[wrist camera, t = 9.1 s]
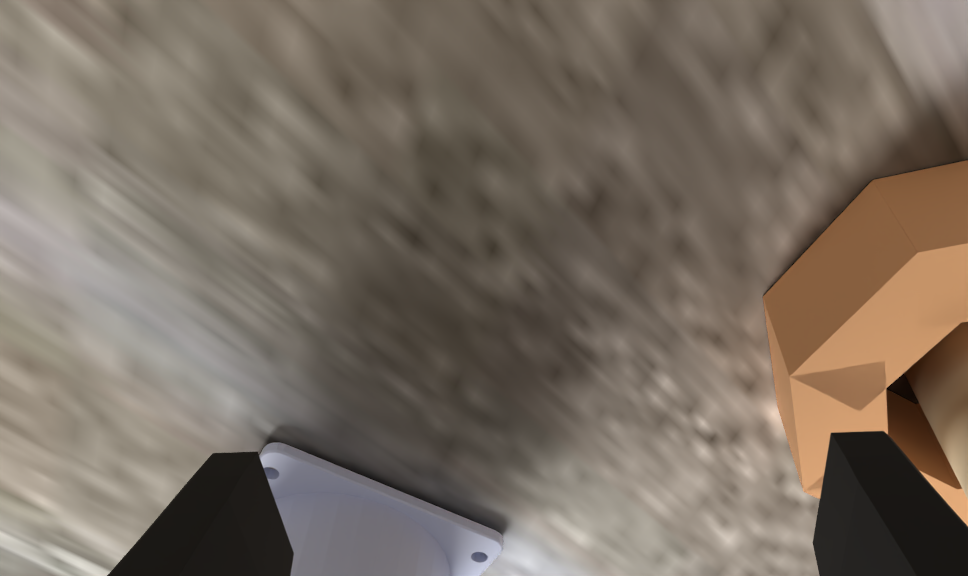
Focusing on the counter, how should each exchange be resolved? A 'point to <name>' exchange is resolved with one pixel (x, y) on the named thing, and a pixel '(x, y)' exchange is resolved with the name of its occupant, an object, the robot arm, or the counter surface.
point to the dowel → (946, 396)
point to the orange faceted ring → (872, 321)
